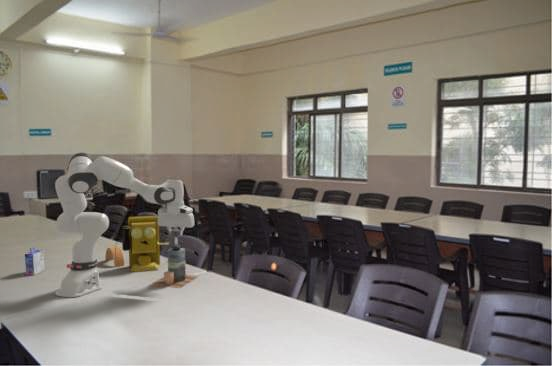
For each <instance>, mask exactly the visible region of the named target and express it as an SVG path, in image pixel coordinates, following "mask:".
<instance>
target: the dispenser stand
mask: <svg viewBox="0 0 552 366" xmlns="http://www.w3.org/2000/svg"><path fill="white" fill-rule="evenodd" d="M171 247H172V248H169V249H167V271H173V272H174V284H173V285H164V276H163V277H161V278H159V279H157V280H155V281H154V282H152V283H150V284H149V286H155V287H162V288H163V287H164V288H165V287H166V288H173V289H174V288H175V289H182V288H183V287H185V286H187V285H189V284H190V283H191V282H192V281H194V280H196V279H197V278H199V277H200V275H195V274H193V275H192V274H186V249H185V248H183V247H181V245H179V244H178V246H175V244H174V245H172V246H171Z"/></svg>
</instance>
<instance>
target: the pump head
mask: <svg viewBox="0 0 552 366" xmlns="http://www.w3.org/2000/svg"><path fill="white" fill-rule="evenodd" d="M171 230H172V229H171ZM180 231H181V229H173V230H172V231H171V233H169V232H168V233H166V234H167V235H166V237H167V238H168V237H169V238H170V237H173V238H174V245H175V246H178V245H179V243H178V241H179V240H178V238H179V237H181V236H182V235H179V232H180Z"/></svg>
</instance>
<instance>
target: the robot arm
mask: <svg viewBox="0 0 552 366" xmlns="http://www.w3.org/2000/svg"><path fill="white" fill-rule="evenodd" d="M67 170H68V171H67V173H66V174H63V175H61V176H60V177H58V178H57V179H56V180H55V183H54V185H55V186H54V187H55V192H56V195H57V199H58V200H59V202H60V205H61V207H62V211H63V212H62V213H61V214H60V215H58V217H57V219H56V223H55V224H56V228H57V229H58V231H59V232H60V233H64V234H67V235H68V234H70V235H72V234H74V235H79V234H80V235H82V238H81V239H80V240H79V241H76V242H75V243H74V244H73V245H72V247H71V251H72V261H71V263H70V264H69V263H67V264H66V265H65V266H66V269H70V270H69V271H68V272H67V274H65V276H64V277H63V279H62V280H61V282H60V289H59V290H57V291H56V292H55V295H56V296H58V297H63V298H64V297H66V298H77V297H81V296H85V295H87V294H90V293H92V292H93V293H94V292H96V291H98V290H101V289H102V285H101V281H100V276H99V275H100V274H99V271H98V259H97V242H98V241H99V238H100V237H101V236H102V235H103V234H104V233H105V232H106V231H107V230H108V229H109V225H110V219H109V217H108V216H107V214H105V213H101V212H96V211H95V212H94V211H85V210H86V208H87V207H88V201H87V199H86V196H85V193H88V192H89V191H91V190H92V189H93V188H94V187H96V186H97V185H98V182H99V180H101V181H104V182H106V183H108V184H110V185H113V186H115V187H119V188H123V189H128V190H130V191H132V192H134V193H136V194H138V195H139V197H141V199H142V200H143V201H144V202H146V203H148V204H156V205H159V206H163V205H166V208H159V209H158V211H157V216H158V225H159V227H166V229H167V230H168V234H169V233H171V231H172V228H173V227H174V228H179V230H181V231H180V232H179V235H181V236H183V234H184V230H185V228H190V229H191V228H193V227H194V226H195V225H196V224H195V216H194V214H193V211H194V209H193V208H192V207H189V206H187V205H185V201H184V198H185V197H184V195H185V192H184V191H185V190H184V188H185V187H184V183H183V181H182V180H181V179H177V178H172V177H171V178H167V180H166V181H165V182H163V183H161V184H159V185H156V184H154V183H153V184H152V183H144V182H143V181H141V180H140V179H137V178H135V177H134V172H133V169H131V168H130V167H129V166H127V165H126V164H124V163H122V162H120V161H117V160H116V159H113V158H111V157H107V156H104V155H101V156H98V157H97V158H96V159H95V160H93V158H92V156H91V155H89V154H88V153H87V152H86V153H85V152H76V153H75V154H74V155H73V156H72V157H71V158H70V160H69V163H68V166H67ZM84 211H85V212H84Z"/></svg>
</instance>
